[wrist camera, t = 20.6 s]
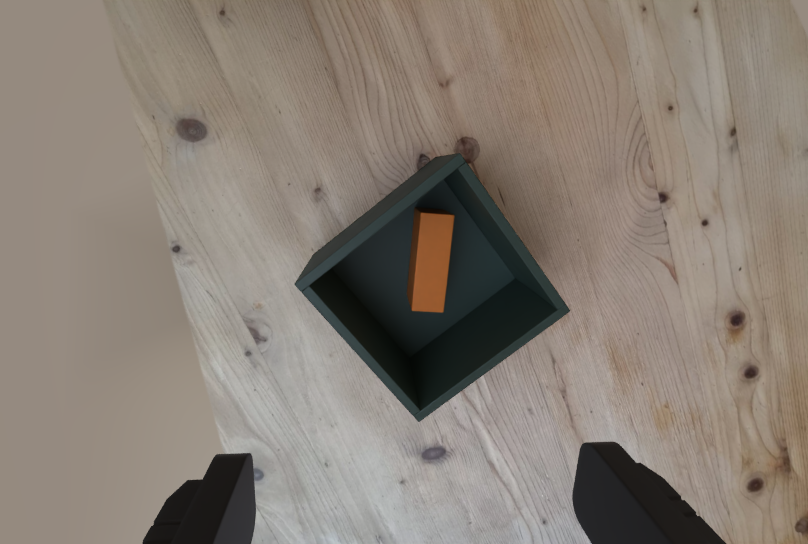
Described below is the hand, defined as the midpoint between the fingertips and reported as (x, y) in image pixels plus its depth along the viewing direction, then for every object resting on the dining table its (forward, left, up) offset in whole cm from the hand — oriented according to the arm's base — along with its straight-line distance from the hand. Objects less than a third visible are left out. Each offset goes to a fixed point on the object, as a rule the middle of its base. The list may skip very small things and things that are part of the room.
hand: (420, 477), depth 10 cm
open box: (+5, +2, -33) cm, 33 cm away
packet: (+7, 0, -30) cm, 30 cm away
